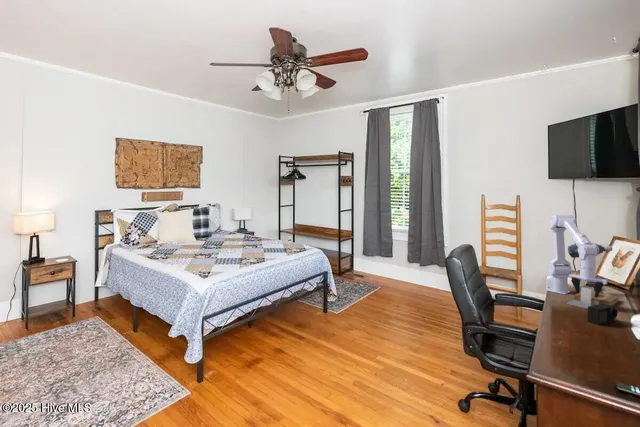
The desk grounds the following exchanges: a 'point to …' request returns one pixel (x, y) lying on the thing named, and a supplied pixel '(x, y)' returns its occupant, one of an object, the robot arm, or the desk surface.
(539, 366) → the desk surface
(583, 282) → the lidded jar
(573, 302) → the mat
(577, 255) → the impact wrench
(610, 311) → the digital camera
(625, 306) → the desk surface
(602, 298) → the socket block
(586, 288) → the grey rectangular block
